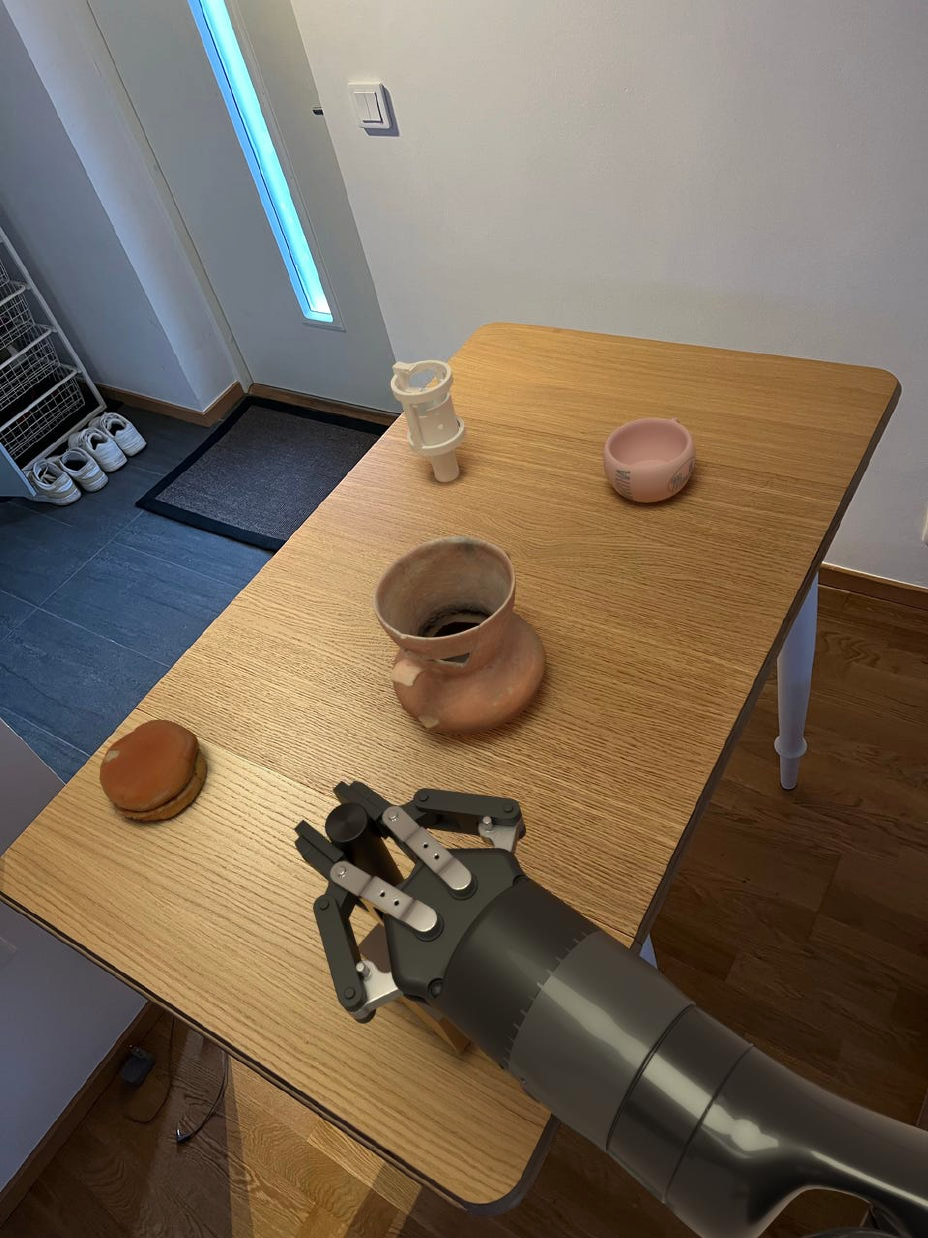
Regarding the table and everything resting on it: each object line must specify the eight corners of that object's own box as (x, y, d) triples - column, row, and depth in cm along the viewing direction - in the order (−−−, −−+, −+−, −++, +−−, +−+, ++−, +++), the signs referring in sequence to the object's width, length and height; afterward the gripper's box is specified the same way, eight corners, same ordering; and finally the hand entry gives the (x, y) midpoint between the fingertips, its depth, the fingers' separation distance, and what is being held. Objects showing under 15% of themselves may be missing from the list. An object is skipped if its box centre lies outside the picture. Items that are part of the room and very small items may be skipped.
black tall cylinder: (425, 975, 55) (349, 855, 43) (392, 946, 57) (310, 822, 44) (449, 946, 56) (382, 820, 44) (416, 918, 58) (342, 790, 46)
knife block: (460, 1055, 58) (438, 1023, 53) (382, 983, 63) (355, 948, 58) (513, 984, 61) (497, 948, 56) (435, 920, 65) (413, 881, 60)
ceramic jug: (494, 783, 72) (461, 683, 62) (366, 728, 79) (317, 630, 69) (586, 637, 81) (570, 529, 71) (463, 599, 88) (432, 496, 78)
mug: (668, 523, 90) (667, 480, 86) (589, 499, 95) (584, 457, 91) (719, 458, 95) (720, 415, 91) (641, 439, 100) (639, 397, 96)
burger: (207, 810, 77) (184, 784, 73) (111, 837, 77) (84, 812, 74) (211, 726, 84) (191, 699, 80) (123, 751, 84) (99, 724, 81)
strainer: (441, 451, 107) (412, 346, 97) (485, 463, 104) (461, 355, 93) (408, 484, 104) (375, 379, 93) (453, 498, 100) (424, 390, 90)
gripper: (649, 852, 38) (388, 689, 47) (448, 1126, 32) (197, 876, 42) (654, 920, 43) (419, 761, 53) (483, 1165, 37) (254, 935, 47)
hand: (322, 812), depth 47 cm, fingers closed on black tall cylinder, 2 cm apart
